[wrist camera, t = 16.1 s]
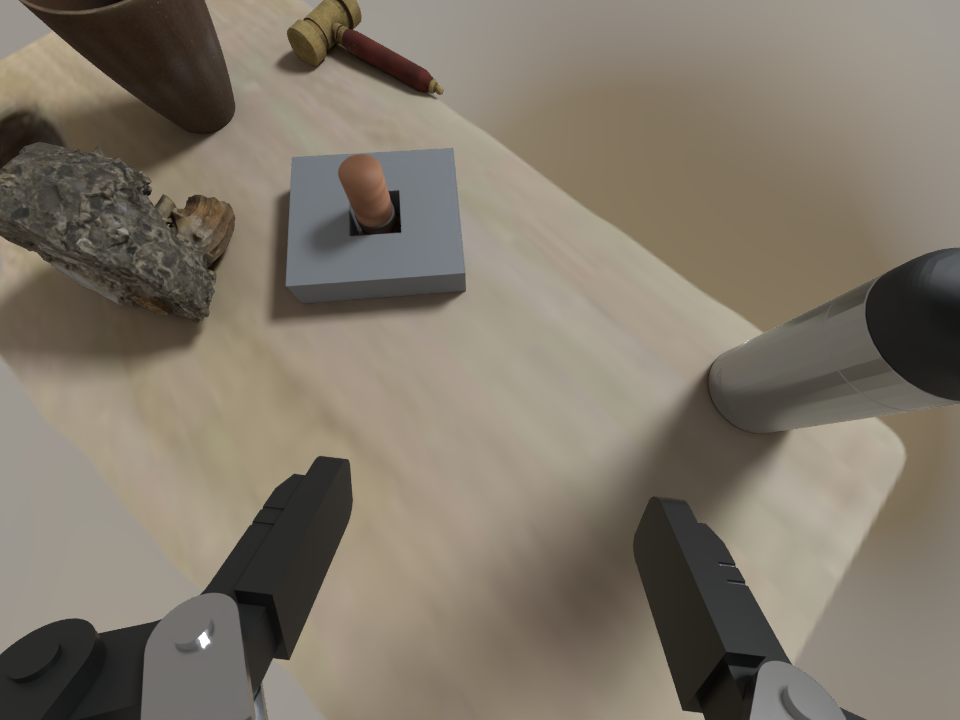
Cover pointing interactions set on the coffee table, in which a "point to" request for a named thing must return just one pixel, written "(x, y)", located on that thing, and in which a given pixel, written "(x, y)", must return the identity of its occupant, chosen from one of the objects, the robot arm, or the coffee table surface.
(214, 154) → the coffee table surface
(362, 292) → the slate socket board
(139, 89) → the plant pot
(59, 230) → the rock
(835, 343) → the robot arm
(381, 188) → the cherry peg
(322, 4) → the gavel
